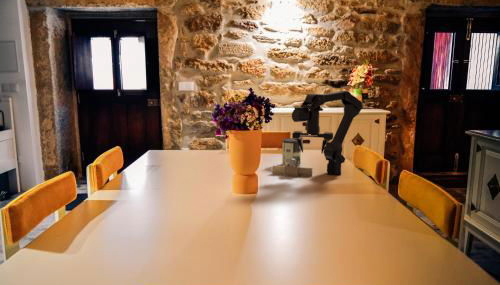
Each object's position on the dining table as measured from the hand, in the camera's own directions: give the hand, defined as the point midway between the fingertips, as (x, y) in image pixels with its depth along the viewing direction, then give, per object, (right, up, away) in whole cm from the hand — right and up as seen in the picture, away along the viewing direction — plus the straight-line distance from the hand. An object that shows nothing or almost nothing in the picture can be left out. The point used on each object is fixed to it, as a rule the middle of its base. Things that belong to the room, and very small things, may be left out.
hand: (312, 153), depth 176 cm
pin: (-9, -11, +6) cm, 15 cm away
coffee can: (-7, -7, +27) cm, 29 cm away
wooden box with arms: (-9, -11, +6) cm, 15 cm away
